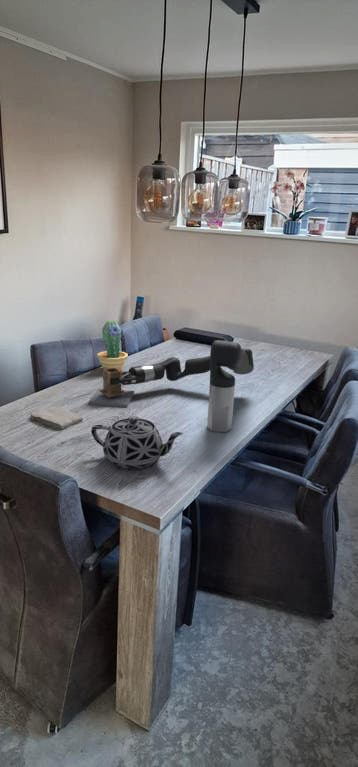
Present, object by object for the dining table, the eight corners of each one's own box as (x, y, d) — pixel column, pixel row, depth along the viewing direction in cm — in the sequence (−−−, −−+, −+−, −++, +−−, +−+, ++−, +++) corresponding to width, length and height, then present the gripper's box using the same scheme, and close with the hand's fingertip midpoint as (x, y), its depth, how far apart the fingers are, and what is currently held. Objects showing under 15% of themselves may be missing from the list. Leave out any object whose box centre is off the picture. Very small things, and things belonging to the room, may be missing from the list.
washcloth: (51, 410, 204) (50, 403, 203) (84, 421, 195) (84, 414, 194) (27, 419, 195) (27, 412, 194) (61, 431, 186) (61, 423, 185)
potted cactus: (92, 373, 252) (91, 322, 244) (102, 364, 266) (102, 316, 258) (123, 375, 249) (123, 325, 241) (131, 367, 263) (132, 319, 256)
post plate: (127, 407, 210) (127, 384, 207) (88, 404, 211) (88, 381, 208) (134, 394, 225) (134, 372, 222) (98, 391, 226) (98, 370, 223)
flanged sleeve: (125, 394, 216) (125, 371, 213) (108, 397, 212) (107, 374, 209) (116, 388, 222) (116, 366, 219) (99, 391, 218) (99, 369, 215)
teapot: (174, 482, 153) (176, 436, 148) (79, 466, 160) (78, 422, 155) (189, 455, 171) (191, 413, 166) (103, 442, 178) (102, 401, 173)
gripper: (150, 387, 219) (114, 393, 209) (133, 378, 230) (99, 383, 221) (150, 370, 216) (114, 376, 207) (133, 361, 227) (98, 367, 218)
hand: (106, 380), depth 214 cm, fingers open, 5 cm apart
